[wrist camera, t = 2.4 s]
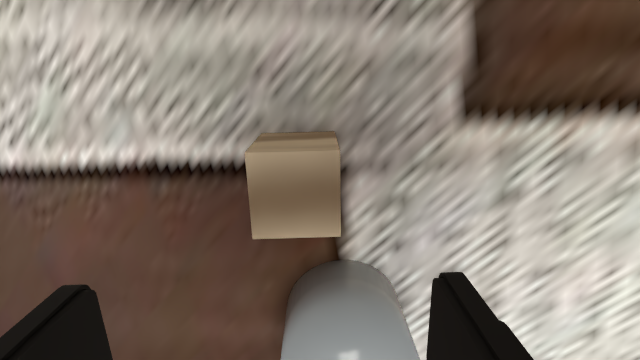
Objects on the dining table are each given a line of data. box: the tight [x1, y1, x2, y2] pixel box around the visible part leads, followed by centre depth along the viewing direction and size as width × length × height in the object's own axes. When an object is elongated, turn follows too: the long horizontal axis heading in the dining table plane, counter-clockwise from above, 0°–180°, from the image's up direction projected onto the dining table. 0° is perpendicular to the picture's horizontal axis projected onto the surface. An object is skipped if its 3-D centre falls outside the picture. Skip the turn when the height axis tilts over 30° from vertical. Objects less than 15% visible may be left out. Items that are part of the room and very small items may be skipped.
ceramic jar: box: [281, 260, 420, 360], centre depth 25 cm, size 9×9×7 cm
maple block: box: [245, 131, 341, 239], centre depth 22 cm, size 5×5×6 cm
